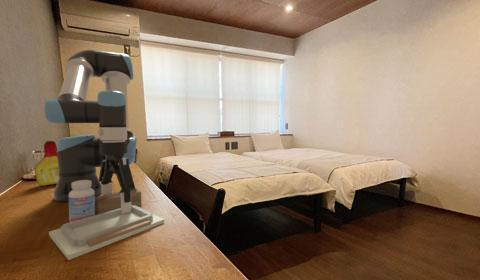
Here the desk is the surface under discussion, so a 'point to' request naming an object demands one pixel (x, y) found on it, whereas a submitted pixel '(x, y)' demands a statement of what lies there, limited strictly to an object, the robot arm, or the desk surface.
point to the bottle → (48, 165)
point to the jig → (101, 230)
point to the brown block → (115, 201)
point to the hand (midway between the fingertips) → (116, 207)
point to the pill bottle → (81, 200)
